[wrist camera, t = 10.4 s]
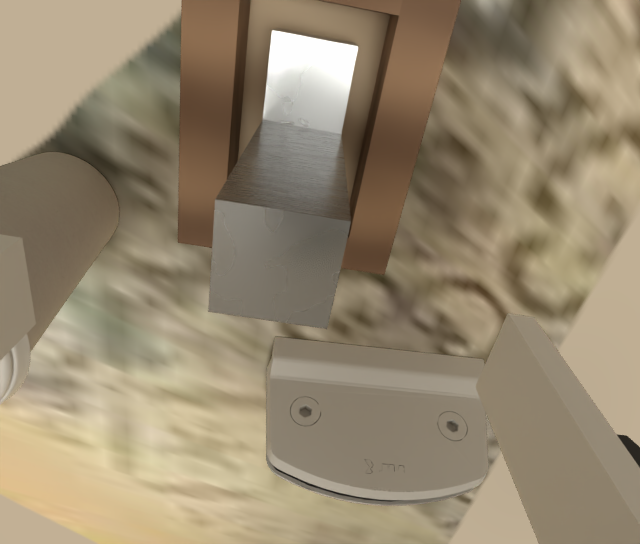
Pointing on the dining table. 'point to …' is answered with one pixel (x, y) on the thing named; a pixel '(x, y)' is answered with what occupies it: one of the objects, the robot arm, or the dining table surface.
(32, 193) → the coffee cup
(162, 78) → the dining table surface
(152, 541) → the dining table surface
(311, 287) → the bracket
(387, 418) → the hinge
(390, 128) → the frame
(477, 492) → the dining table surface
